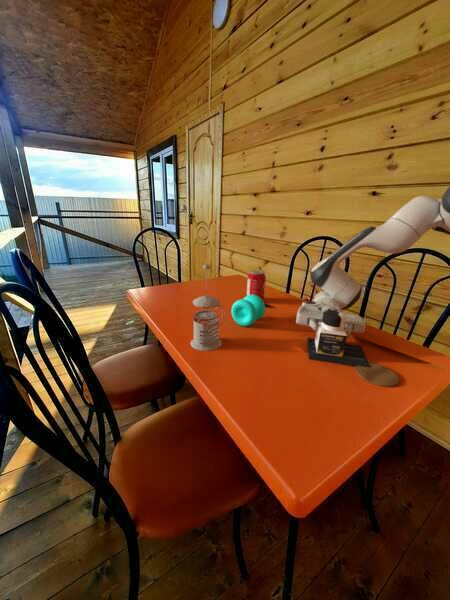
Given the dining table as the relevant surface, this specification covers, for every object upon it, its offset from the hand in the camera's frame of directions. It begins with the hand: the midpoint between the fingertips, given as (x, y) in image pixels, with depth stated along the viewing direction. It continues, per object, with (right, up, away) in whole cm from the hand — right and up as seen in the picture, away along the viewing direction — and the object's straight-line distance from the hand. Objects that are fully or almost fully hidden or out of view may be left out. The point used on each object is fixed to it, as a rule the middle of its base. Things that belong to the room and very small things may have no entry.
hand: (331, 330), depth 74 cm
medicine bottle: (0, -6, +3) cm, 7 cm away
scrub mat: (+2, -7, +3) cm, 8 cm away
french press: (-36, -5, +7) cm, 37 cm away
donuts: (-22, 0, +22) cm, 31 cm away
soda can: (-18, +7, +41) cm, 45 cm away
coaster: (+9, -11, -7) cm, 16 cm away
